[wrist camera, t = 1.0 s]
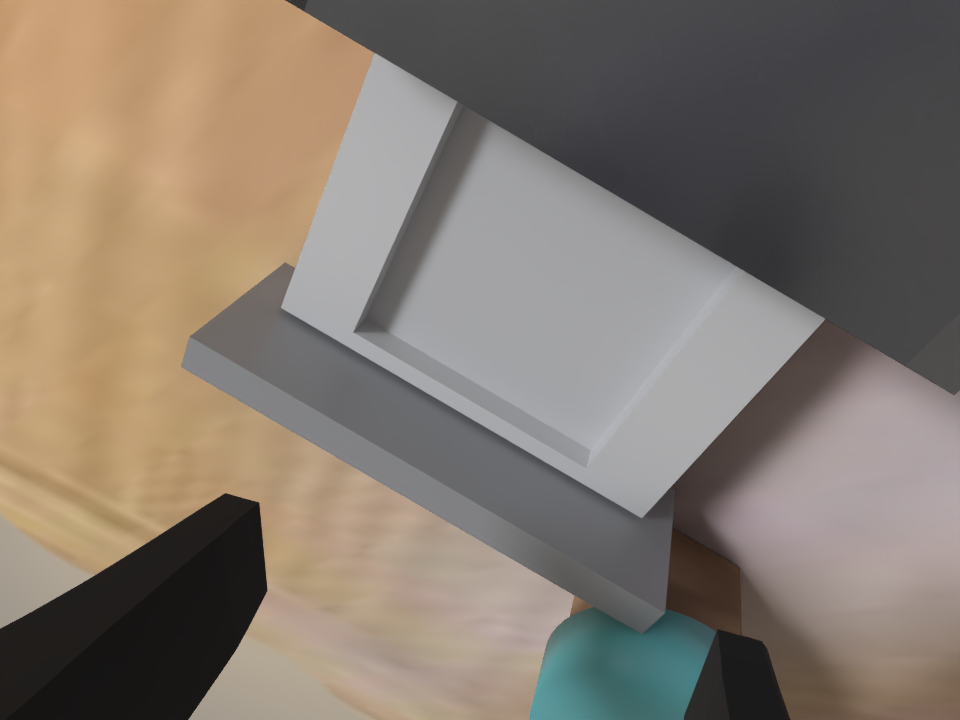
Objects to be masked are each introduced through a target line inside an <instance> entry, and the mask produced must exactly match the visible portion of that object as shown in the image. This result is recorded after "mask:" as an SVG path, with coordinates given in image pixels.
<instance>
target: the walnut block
mask: <svg viewBox="0 0 960 720" xmlns="http://www.w3.org/2000/svg"><path fill="white" fill-rule="evenodd" d="M592 607H594V606H592V605H590V604H589V603H587V602H585V601H584V600H582V599H580V598H578V597H577V596H574V600H573V605H572V609H571V614H570V616H572V615H574V614H576V613H578V612H580V611H583V610H586V609H589V608H592ZM665 609H668V610H671V611H674V612H678V613H681V614H683V615H685V616H688V617H690V618H693V619H695V620H697V621H699V622H701V623H703V624H705V625H706V626H708V627H710V628H711V629H713V630H714V631H717V629H719V630H723V631H726V632H730V633H734V634H737V635H741V636H742V634H741V595H740V568H739V567H738V566H736V565H734V564H733V563H731V562H729V561H727V560H726V559H724V558H722V557H721V556H719V555H717V554H715V553H714V552H712V551H710V550H709V549H707V548H705V547H703V546H702V545H700V544H698V543H697V542H695V541H693V540H691V539H690V538H688V537H686V536H685V535H683V534H681V533H680V532H678V531H676V530H674V529H673V528H672V536H671V548H670V560H669V572H668V584H667V596H666V608H665Z"/></svg>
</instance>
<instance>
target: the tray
mask: <svg viewBox="0 0 960 720" xmlns="http://www.w3.org/2000/svg"><path fill="white" fill-rule="evenodd" d="M824 320H825V318H823V317H821V316H819V315H818V314H816V313H814V312H813V311H811V310H809V309H808V308H806V307H804V306H803V305H801V304H799V303H797V302H796V301H794V300H792V299H791V298H789V297H787V296H786V295H784V294H782V293H781V292H779V291H777V290H775V289H774V288H772V287H770V286H769V285H767V284H765V283H764V282H762V281H760V280H759V279H757V278H755V277H753V276H752V275H750V274H748V273H747V272H745V271H743V270H742V269H740V268H738V267H736V266H735V265H733V264H731V263H730V262H728V261H726V260H725V259H723V258H721V257H720V256H718V255H716V254H714V253H713V252H711V251H709V250H708V249H706V248H704V247H703V246H701V245H699V244H698V243H696V242H694V241H692V240H691V239H689V238H687V237H686V236H684V235H682V234H681V233H679V232H677V231H676V230H674V229H672V228H670V227H669V226H667V225H665V224H664V223H662V222H660V221H659V220H657V219H655V218H654V217H652V216H650V215H648V214H647V213H645V212H643V211H642V210H640V209H638V208H637V207H635V206H633V205H631V204H630V203H628V202H626V201H625V200H623V199H621V198H620V197H618V196H616V195H615V194H613V193H611V192H609V191H608V190H606V189H604V188H603V187H601V186H599V185H598V184H596V183H594V182H593V181H591V180H589V179H587V178H586V177H584V176H582V175H581V174H579V173H577V172H576V171H574V170H572V169H571V168H569V167H567V166H565V165H564V164H562V163H560V162H559V161H557V160H555V159H554V158H552V157H550V156H549V155H547V154H545V153H543V152H542V151H540V150H538V149H537V148H535V147H533V146H532V145H530V144H528V143H526V142H525V141H523V140H521V139H520V138H518V137H516V136H515V135H513V134H511V133H510V132H508V131H506V130H504V129H503V128H501V127H499V126H498V125H496V124H494V123H493V122H491V121H489V120H488V119H486V118H484V117H482V116H481V115H479V114H477V113H476V112H474V111H472V110H471V109H469V108H467V107H466V106H464V105H462V104H460V103H459V102H457V101H455V100H454V99H452V98H450V97H449V96H447V95H445V94H443V93H442V92H440V91H438V90H437V89H435V88H433V87H432V86H430V85H428V84H427V83H425V82H423V81H421V80H420V79H418V78H416V77H415V76H413V75H411V74H410V73H408V72H406V71H405V70H403V69H401V68H399V67H398V66H396V65H394V64H393V63H391V62H389V61H388V60H386V59H384V58H383V57H381V56H379V55H377V54H376V53H374V56H373V59H372V62H371V64H370V67H369V70H368V72H367V75H366V78H365V81H364V83H363V86H362V89H361V91H360V94H359V97H358V100H357V102H356V105H355V108H354V110H353V113H352V116H351V119H350V121H349V124H348V127H347V129H346V132H345V135H344V138H343V140H342V143H341V146H340V148H339V151H338V154H337V157H336V159H335V162H334V165H333V167H332V170H331V173H330V176H329V178H328V181H327V184H326V186H325V189H324V192H323V195H322V197H321V200H320V203H319V205H318V208H317V211H316V214H315V216H314V219H313V222H312V224H311V227H310V230H309V232H308V235H307V238H306V241H305V243H304V246H303V249H302V251H301V254H300V257H299V260H298V262H297V265H296V268H294V267H292V266H290V265H289V264H287V263H284V264H283V265H281V266H280V267H279V268H277V269H276V270H275V271H274V272H272V273H271V274H270V275H268V276H267V277H266V278H265V279H263V280H262V281H261V282H259V283H258V284H257V285H256V286H254V287H253V288H252V289H250V290H249V291H248V292H247V293H245V294H244V295H243V296H241V297H240V298H239V299H238V300H236V301H235V302H234V303H232V304H231V305H230V306H229V307H227V308H226V309H225V310H223V311H222V312H221V313H220V314H218V315H217V316H216V317H214V318H213V319H212V320H211V321H209V322H208V323H207V324H205V325H204V326H203V327H202V328H200V329H199V330H198V331H196V332H195V333H194V334H193V335H191V336H190V337H189V341H188V344H187V348H186V351H185V355H184V358H183V362H182V365H181V367H182V368H184V369H186V370H187V371H189V372H191V373H193V374H194V375H196V376H198V377H199V378H201V379H203V380H205V381H206V382H208V383H210V384H211V385H213V386H215V387H217V388H218V389H220V390H222V391H224V392H225V393H227V394H229V395H230V396H232V397H234V398H236V399H237V400H239V401H241V402H242V403H244V404H246V405H248V406H249V407H251V408H253V409H255V410H256V411H258V412H260V413H261V414H263V415H265V416H267V417H268V418H270V419H272V420H273V421H275V422H277V423H279V424H280V425H282V426H284V427H286V428H287V429H289V430H291V431H292V432H294V433H296V434H298V435H299V436H301V437H303V438H304V439H306V440H308V441H310V442H311V443H313V444H315V445H317V446H318V447H320V448H322V449H323V450H325V451H327V452H329V453H330V454H332V455H334V456H335V457H337V458H339V459H341V460H342V461H344V462H346V463H348V464H349V465H351V466H353V467H354V468H356V469H358V470H360V471H361V472H363V473H365V474H366V475H368V476H370V477H372V478H373V479H375V480H377V481H379V482H380V483H382V484H384V485H385V486H387V487H389V488H391V489H392V490H394V491H396V492H397V493H399V494H401V495H403V496H404V497H406V498H408V499H410V500H411V501H413V502H415V503H416V504H418V505H420V506H422V507H423V508H425V509H427V510H429V511H430V512H432V513H434V514H435V515H437V516H439V517H441V518H442V519H444V520H446V521H447V522H449V523H451V524H453V525H454V526H456V527H458V528H460V529H461V530H463V531H465V532H466V533H468V534H470V535H472V536H473V537H475V538H477V539H478V540H480V541H482V542H484V543H485V544H487V545H489V546H491V547H492V548H494V549H496V550H497V551H499V552H501V553H503V554H504V555H506V556H508V557H509V558H511V559H513V560H515V561H516V562H518V563H520V564H522V565H523V566H525V567H527V568H528V569H530V570H532V571H534V572H535V573H537V574H539V575H540V576H542V577H544V578H546V579H547V580H549V581H551V582H553V583H554V584H556V585H558V586H559V587H561V588H563V589H565V590H566V591H568V592H570V593H571V594H573V595H575V596H577V597H578V598H580V599H582V600H584V601H585V602H587V603H589V604H590V605H592V606H594V607H596V608H597V609H599V610H601V611H602V612H604V613H606V614H608V615H609V616H611V617H613V618H615V619H616V620H618V621H620V622H621V623H623V624H625V625H627V626H628V627H630V628H632V629H633V630H635V631H637V632H639V633H640V634H643V633H644V632H645V631H646V630H647V629H648V628H650V627H651V626H652V625H653V624H654V623H655V622H656V621H657V620H658V619H659V618H660V617H661V616H662V615H664V614H665V608H666V596H667V584H668V572H669V560H670V548H671V536H672V524H673V512H674V501H675V490H674V489H672V488H670V487H671V486H672V485H673V484H674V483H675V482H676V481H677V480H678V479H679V478H680V476H681V475H682V474H683V473H684V472H685V471H686V470H687V469H688V468H689V467H690V466H691V465H692V463H693V462H694V461H695V460H696V459H697V458H698V457H699V456H700V455H701V454H702V453H703V452H704V450H705V449H706V448H707V447H708V446H709V445H710V444H711V443H712V442H713V441H714V440H715V438H716V437H717V436H718V435H719V434H720V433H721V432H722V431H723V430H724V429H725V428H726V427H727V425H728V424H729V423H730V422H731V421H732V420H733V419H734V418H735V417H736V416H737V415H738V414H739V412H740V411H741V410H742V409H743V408H744V407H745V406H746V405H747V404H748V403H749V402H750V401H751V399H752V398H753V397H754V396H755V395H756V394H757V393H758V392H759V391H760V390H761V389H762V388H763V386H764V385H765V384H766V383H767V382H768V381H769V380H770V379H771V378H772V377H773V376H774V374H775V373H776V372H777V371H778V370H779V369H780V368H781V367H782V366H783V365H784V364H785V363H786V361H787V360H788V359H789V358H790V357H791V356H792V355H793V354H794V353H795V352H796V351H797V350H798V348H799V347H800V346H801V345H802V344H803V343H804V342H805V341H806V340H807V339H808V338H809V337H810V335H811V334H812V333H813V332H814V331H815V330H816V329H817V328H818V327H819V326H820V325H821V324H822V322H823V321H824Z"/></svg>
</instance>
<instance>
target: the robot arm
mask: <svg viewBox="0 0 960 720" xmlns="http://www.w3.org/2000/svg"><path fill="white" fill-rule="evenodd" d="M266 592H267V581H266V570H265V559H264V549H263V538H262V527H261V517H260V506H259V502H255V501H251V500H248V499H244V498H240V497H237V496H233V495H230V494H226V493H225V494H223V495H222V496H220V497H219V498H217V499H215V500H214V501H212V502H211V503H209V504H207V505H206V506H204V507H203V508H201V509H199V510H198V511H196V512H195V513H193V514H192V515H190V516H189V517H187V518H185V519H184V520H182V521H181V522H179V523H178V524H176V525H175V526H173V527H171V528H170V529H168V530H167V531H165V532H164V533H162V534H161V535H159V536H157V537H156V538H154V539H153V540H151V541H150V542H148V543H146V544H145V545H143V546H142V547H140V548H139V549H137V550H135V551H134V552H132V553H131V554H129V555H127V556H126V557H124V558H122V559H121V560H119V561H118V562H116V563H114V564H113V565H111V566H110V567H108V568H106V569H105V570H103V571H101V572H100V573H98V574H97V575H95V576H93V577H92V578H90V579H88V580H87V581H85V582H83V583H82V584H80V585H78V586H77V587H75V588H73V589H71V590H70V591H68V592H66V593H64V594H63V595H61V596H59V597H57V598H55V599H54V600H52V601H50V602H49V603H47V604H45V605H43V606H42V607H40V608H38V609H36V610H34V611H33V612H31V613H29V614H27V615H25V616H23V617H22V618H20V619H18V620H16V621H14V622H12V623H10V624H9V625H7V626H5V627H3V628H1V629H0V720H188V719H189V718H190V716H191V715H192V713H193V712H194V710H195V709H196V708H197V706H198V705H199V703H200V702H201V701H202V699H203V698H204V696H205V695H206V693H207V692H208V690H209V689H210V687H211V686H212V684H213V683H214V682H215V680H216V679H217V677H218V676H219V674H220V673H221V671H222V670H223V668H224V667H225V666H226V664H227V663H228V661H229V660H230V658H231V657H232V655H233V654H234V652H235V651H236V649H237V647H238V646H239V644H240V642H241V640H242V638H243V636H244V635H245V633H246V631H247V629H248V627H249V625H250V624H251V622H252V620H253V618H254V616H255V614H256V612H257V610H258V608H259V606H260V604H261V602H262V600H263V598H264V596H265V594H266ZM684 720H790V718H789V715H788V712H787V709H786V706H785V703H784V701H783V698H782V695H781V692H780V689H779V686H778V683H777V680H776V676H775V673H774V670H773V667H772V664H771V660H770V657H769V653H768V650H767V648H766V647H765V645H764V644H763V642H762V641H759V640H755V639H752V638H748V637H745V636H741V635H737V634H734V633H730V632H726V631H723V630H719V629H717V631H716V634H715V637H714V639H713V642H712V644H711V647H710V650H709V652H708V655H707V657H706V660H705V663H704V665H703V668H702V670H701V673H700V676H699V678H698V681H697V683H696V686H695V688H694V691H693V694H692V696H691V699H690V701H689V704H688V707H687V709H686V712H685V714H684Z"/></svg>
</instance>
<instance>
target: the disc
mask: <svg viewBox="0 0 960 720" xmlns="http://www.w3.org/2000/svg"><path fill="white" fill-rule="evenodd" d="M715 634H716V631H714V630H713V629H711V628H710V627H708V626H706V625H705V624H703V623H701V622H699V621H697V620H695V619H693V618H690V617H688V616H685V615H683V614H681V613H678V612H674V611H671V610H668V609H665V614H664V615H662V616H661V617H660V618H659V619H658V620H657V621H656V622H655V623H654V624H653V625H652V626H651V627H650V628H648V629H647V630H646V631H645V632H644V633H643V634H640V633H639V632H637V631H635V630H633V629H632V628H630V627H628V626H627V625H625V624H623V623H621V622H620V621H618V620H616V619H615V618H613V617H611V616H609V615H608V614H606V613H604V612H602V611H601V610H599V609H597V608H596V607H592V608H589V609H586V610H583V611H580V612H578V613H576V614H574V615H572V616H570V617H569V618H567V619H566V620H564V621H563V622H562V623H561V624H560V625H558V626H557V628H556V629H555V630H554V631H553V633H552V634H551V636H550V638H549V640H548V642H547V646H546V649H545V653H544V657H543V661H542V666H541V670H540V674H539V678H538V682H537V686H536V690H535V694H534V699H533V703H532V707H531V711H530V720H684V714H685V712H686V709H687V707H688V704H689V701H690V699H691V696H692V694H693V691H694V688H695V686H696V683H697V681H698V678H699V676H700V673H701V670H702V668H703V665H704V663H705V660H706V657H707V655H708V652H709V650H710V647H711V644H712V642H713V639H714V637H715Z"/></svg>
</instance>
